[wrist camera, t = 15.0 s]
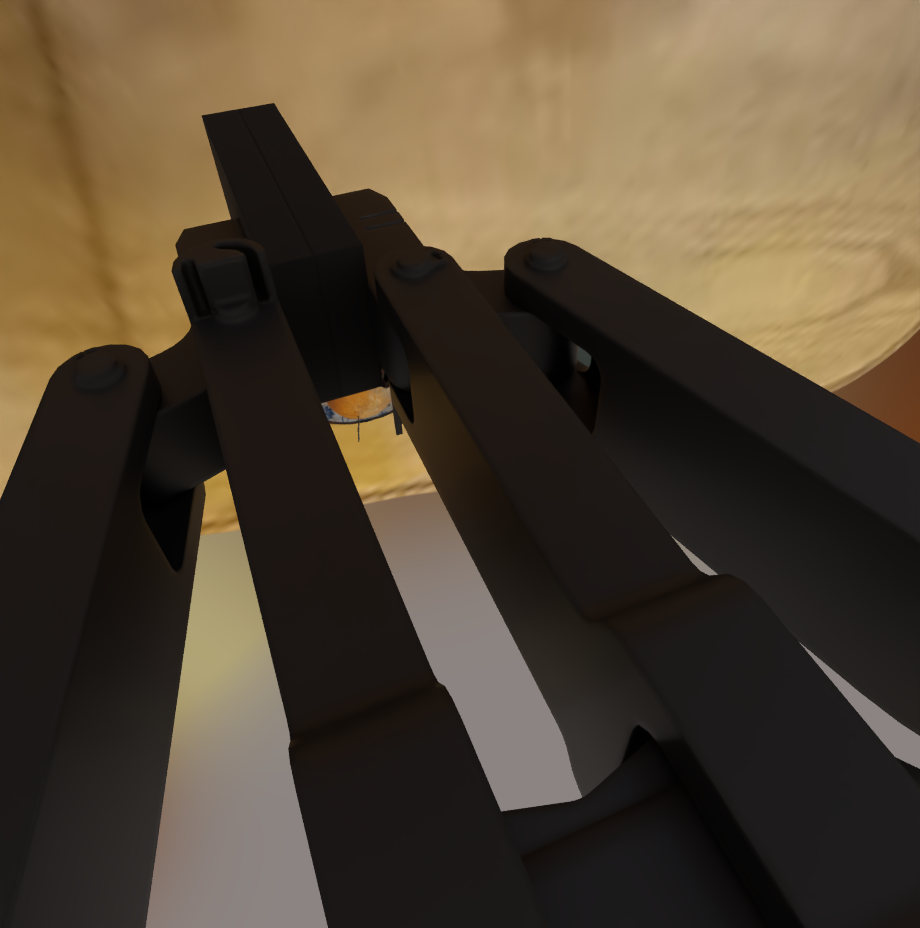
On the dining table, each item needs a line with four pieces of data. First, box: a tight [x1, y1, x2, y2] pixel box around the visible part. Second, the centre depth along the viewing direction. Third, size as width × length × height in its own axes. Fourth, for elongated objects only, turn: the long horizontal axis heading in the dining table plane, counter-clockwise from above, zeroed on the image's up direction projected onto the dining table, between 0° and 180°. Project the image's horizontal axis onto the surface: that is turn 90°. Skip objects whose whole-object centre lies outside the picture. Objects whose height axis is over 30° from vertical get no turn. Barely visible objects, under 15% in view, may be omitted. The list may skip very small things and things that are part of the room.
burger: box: [321, 363, 393, 442], centre depth 46 cm, size 12×12×8 cm
